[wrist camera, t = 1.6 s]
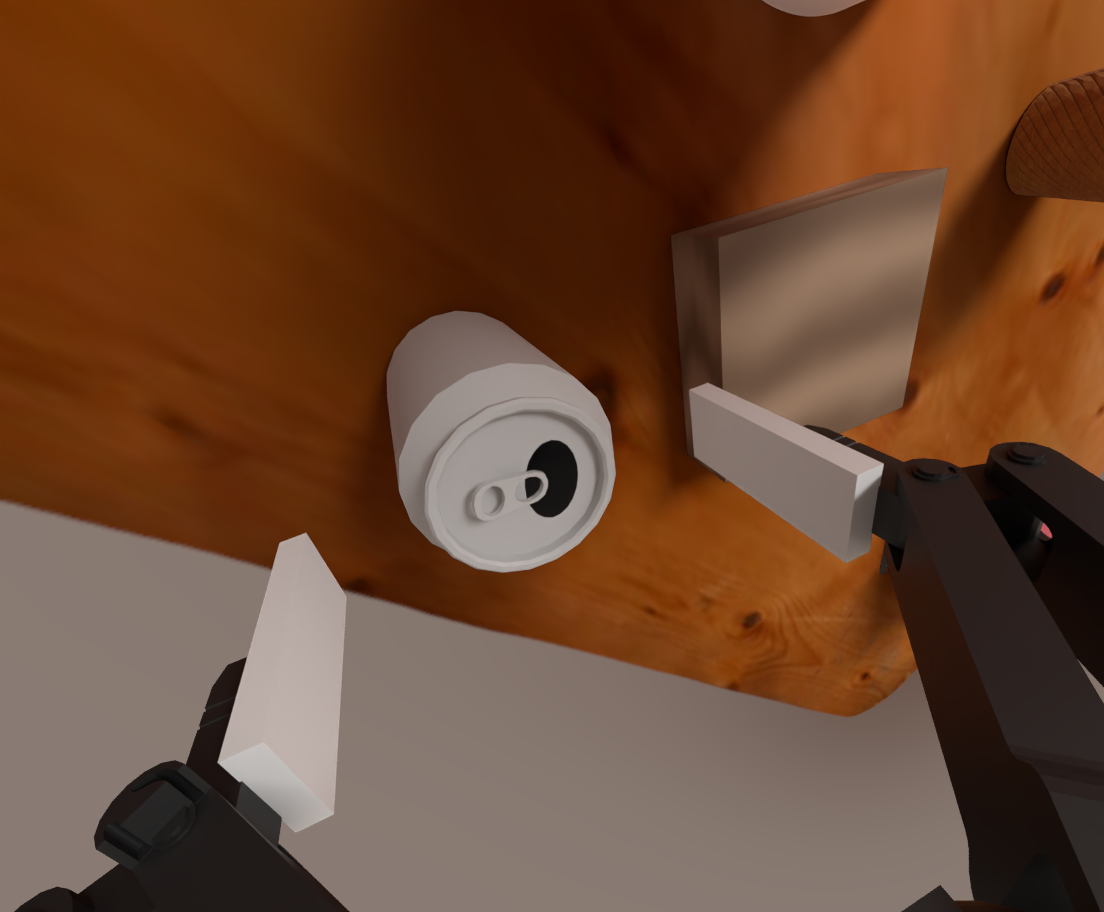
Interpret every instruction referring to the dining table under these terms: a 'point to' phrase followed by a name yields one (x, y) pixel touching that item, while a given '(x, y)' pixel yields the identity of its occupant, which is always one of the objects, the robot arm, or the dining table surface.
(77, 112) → the dining table surface
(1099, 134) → the disposable coffee cup
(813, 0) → the potted cactus
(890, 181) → the plinth
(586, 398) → the can
